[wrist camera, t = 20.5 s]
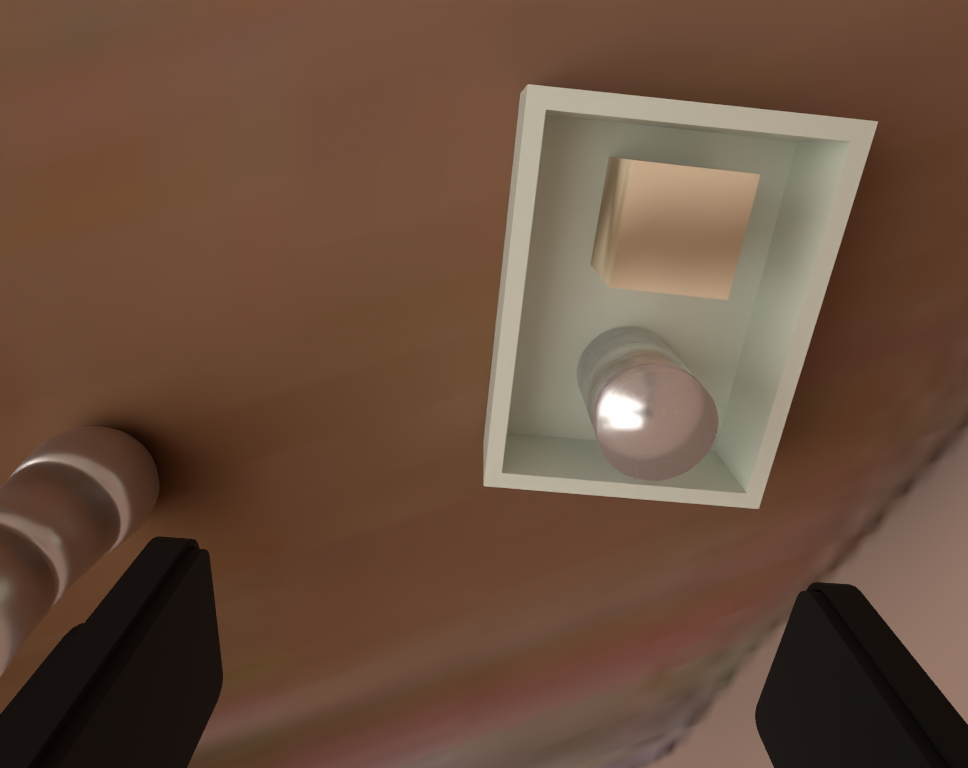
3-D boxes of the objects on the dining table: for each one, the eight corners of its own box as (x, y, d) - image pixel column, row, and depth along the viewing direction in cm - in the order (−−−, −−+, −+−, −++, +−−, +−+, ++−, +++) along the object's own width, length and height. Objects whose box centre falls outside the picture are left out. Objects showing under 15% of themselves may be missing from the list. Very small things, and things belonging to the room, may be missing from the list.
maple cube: (608, 156, 28) (633, 160, 23) (715, 168, 28) (760, 174, 24) (590, 264, 30) (609, 287, 25) (690, 275, 30) (727, 300, 25)
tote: (520, 93, 28) (527, 84, 23) (813, 124, 28) (878, 121, 23) (483, 439, 34) (483, 485, 30) (721, 459, 35) (758, 508, 30)
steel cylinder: (588, 318, 31) (613, 362, 24) (684, 334, 31) (734, 382, 25) (567, 407, 33) (585, 470, 26) (657, 422, 33) (698, 489, 26)
